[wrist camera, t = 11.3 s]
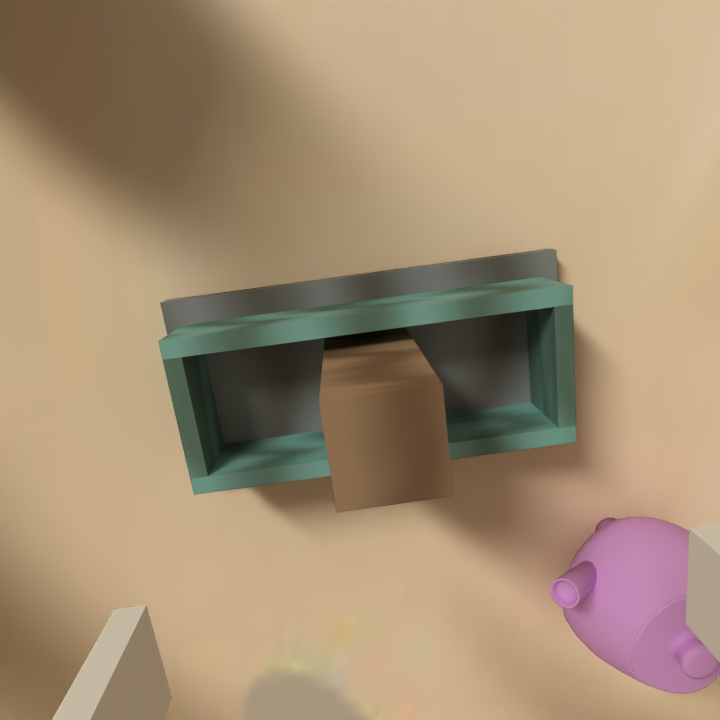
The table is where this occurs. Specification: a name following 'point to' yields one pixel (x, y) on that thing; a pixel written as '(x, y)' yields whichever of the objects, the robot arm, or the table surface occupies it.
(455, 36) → the table surface
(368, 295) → the green tray
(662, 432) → the table surface
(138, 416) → the table surface
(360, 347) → the walnut block
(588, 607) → the teapot
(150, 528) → the table surface
